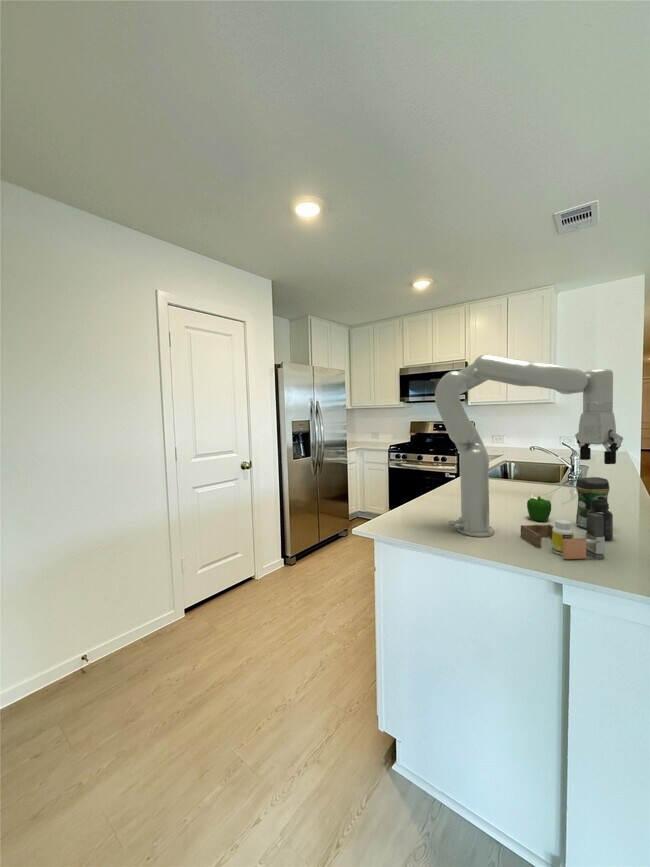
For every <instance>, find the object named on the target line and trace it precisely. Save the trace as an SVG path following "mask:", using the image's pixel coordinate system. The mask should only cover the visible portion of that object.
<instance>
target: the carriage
mask: <svg viewBox="0 0 650 867" xmlns="http://www.w3.org/2000/svg"><path fill="white" fill-rule="evenodd" d="M605 543H606V542H605V537H604V516H602V515H599V514H597V513H588V514H587V529H586V532H585V538H584V537H581V538H580V537H576V538H575V537H574V538H573V539H563V555H562V558H563V559H565V560H581V559H583V560H584V559H587V554H586V549H588V550H590V551H592V552H593V553H595V554H604V555H605Z"/></svg>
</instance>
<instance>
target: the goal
mask: <svg viewBox="0 0 650 867" xmlns="http://www.w3.org/2000/svg"><path fill="white" fill-rule="evenodd" d="M553 527H555V525H554V526H553V525H551V524H525V525H522V524H521V525H520V537H521V538H522V539H524V540H525V539H526V541H527V542H528V541H529V543H530V544H531V545H533V546H535V547H537V548H538V547H539V548H542V538H546V537H548V538H550V539H552V529H553Z"/></svg>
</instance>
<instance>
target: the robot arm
mask: <svg viewBox="0 0 650 867" xmlns="http://www.w3.org/2000/svg"><path fill="white" fill-rule="evenodd" d="M487 381H493V382H498V383H502V384H507V385H513V386H517V387H538V388H544V389H550V390H554V391H556V392H557V393H559V394H562V395H573V394H577V393H582V413H581V414H580V417H579V423H578V432H576V433H575V435H574V437H575V439H576V443H577V445H578V448H579V460H581V461H589V460H591V459H592V458H591V453H592V452H591V447H590V446H591V445H595V446H596V445H597V446H598V445H599V446H600V445H602V446H603V447H604V449H605V450H604V452H603V454H604V456H603V459H604V460H603V461H604V464H605V465H616V463H617V452H618V451H619V448H620V447H621V446H622V443H623V440H624V437H623V436H621V435H619V433H617V427H616V418H615V413H614V372H613V371H612V369H608V368H600V369H599V368H597V369H589V370H586V371H583V370H580V369H578V368H573V367H568V366H561V365H556V364H549V363H548V364H547V363H541V362H534V361H529V360H528V361H527V360H521V359H517V358H516V359H515V358H509V357H506V356H505V357H503V356H500V355H499V356H498V355H494V354H482V355H479V356H478V357H476V359H475V360H474V361H473V363H472V364H470V365H468V366H466V367H464V368H462V369H460V370H451V371H449V372H447V373H445V374H444V375H442V377H441V379H440V380H439V381H438V383H437V384H436V388H435V390H434V391H435V392H434V401H435V405H436V407H437V411H438V413H439V415H440V418H441V419H442V422H443V425H444V427H445V429H446V431H447V434H448V437H449V440H451V442H453V443H454V445H455V447H456V449H457V451H458V453H459V455H460V457H459V472H460V473H459V474H460V475H459V476H460V477H459V478H460V506H461V507H460V510H461V511H460V512H461V513H460V515H461V516H459V517H458V519H456V520H448V522H447V524H448V526H449V527H454V528H456V529H457V532H458V533H460V534H462V535H466V536H469V537H470V536H471V537H475V538H476V537H478V538H485V537H491V536H493V535H494V534H495V529H494V527H492V526H490V489H489V488H490V484H489V483H490V480H489V479H490V478H489V477H490V474H489V472H490V471H489V470H490V461H489V460H490V459H489V454H488V451H487V449H486V446H485V444H484V442H483V441H482V438H481V436H480V434H479V432H478V430H477V428H476V426H475V425H474V423H473V422H472V421H471V420H470V419H469V416H468V415H467V413H466V410H465V408H464V406H463V404H462V402H461V398H460V395H462V394H464V393H466V392H468V391H470V390H473V389H474V388H476V387H478V386H479V385H481V384H483V383H485V382H487Z"/></svg>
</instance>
